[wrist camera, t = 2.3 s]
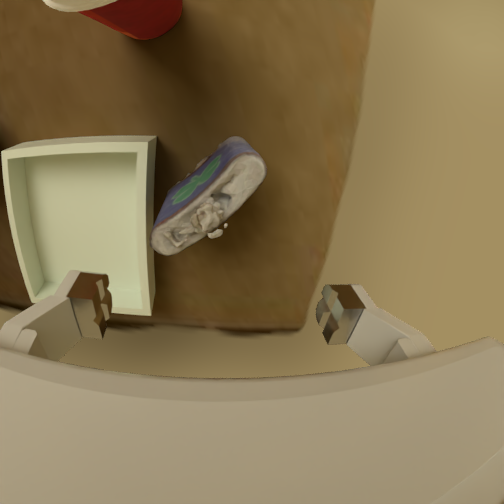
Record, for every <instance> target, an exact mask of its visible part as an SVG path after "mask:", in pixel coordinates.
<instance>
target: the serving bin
mask: <svg viewBox="0 0 504 504" xmlns="http://www.w3.org/2000/svg"><path fill="white" fill-rule="evenodd" d="M156 141H157V136H90V137H72V138H59V139H49V140H39V141H31V142H24V143H21V144H18V145H16V146H13V147H10V148H8V149H5V150H3V151H1V157H2V171H3V182H4V190H5V198H6V205H7V211H8V217H9V222H10V227H11V232H12V237H13V241H14V245H15V249H16V253H17V257H18V261H19V265H20V268H21V271H22V275H23V278H24V281H25V284H26V287H27V290H28V293H29V296H30V299H31V302H32V303H38V302H39V301H41V300H43V299H45V298H46V297H48V296H50V295H53V296H54V294H55V292H56V291H57V289H58V287H59V286H60V284H61V283H62V281H63V279H64V278H65V276H66V275H67V273H68V272H69V271H70V270H79V271H88V272H97V273H106V274H107V275H108V278H109V286H108V288H107V289H108V290H109V291H110V293H111V295H112V312H111V313H121V314H133V315H146V316H151V314H152V308H153V302H154V297H155V272H154V249H153V248H151V247H150V245H149V242H150V241H149V238H150V233H151V231H152V228H153V209H154V174H155V156H156Z"/></svg>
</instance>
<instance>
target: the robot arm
mask: <svg viewBox="0 0 504 504" xmlns="http://www.w3.org/2000/svg"><path fill="white" fill-rule="evenodd" d="M108 286H109V278H108V275H107V274H106V273H97V272H88V271H79V270H70V271H69V272H68V273H67V275H66V276H65V278H64V279H63V281H62V283H61V284H60V286H59V287H58V289H57V291H56V292H55V294H54V296H53V295H50V296H48V297H46V298H45V299H43V300H41V301H39V302H38V303H36V304H34V305H33V306H31V307H29V308H28V309H26V310H24V311H23V312H21V313H19V314H18V315H16V316H15V317H13V318H12V319H10V320H8V321H7V322H5V323H4V325H3V327H2V328H1V330H0V504H504V344H503V343H501V342H499V341H498V340H496V339H494V338H492V337H484V338H481V339H478V340H475V341H472V342H469V343H466V344H462V345H459V346H456V347H452V348H449V349H445V350H442V351H438V352H436V350H435V349H434V347H433V346H432V345H431V343H430V342H429V340H428V339H427V338H426V336H425V335H424V334H423V333H421V332H420V331H418V330H416V329H415V328H413V327H411V326H410V325H408V324H406V323H405V322H403V321H401V320H400V319H398V318H396V317H395V316H393V315H391V314H389V313H388V312H386V311H385V310H383V309H381V308H377V306H376V305H375V304H374V302H373V301H372V299H371V298H370V297H369V295H368V294H367V292H366V291H365V290H364V288H363V287H362V286H361V285H359V284H348V285H325V286H324V288H323V291H322V295H323V298H322V299H321V300H320V301H319V302H318V305H317V308H316V318H317V322H318V324H319V325H320V326H321V327H323V328H324V330H323V335H324V337H325V340H326V342H327V344H328V345H334V344H347V346H349V347H350V348H351V349H352V350H353V351H354V352H355V353H357V354H358V355H359V356H360V357H361V358H362V359H363V360H364V361H366V362H367V363H368V364H369V365H370V366H368V367H362V368H356V369H350V370H343V371H335V372H327V373H318V374H307V375H297V376H282V377H263V378H185V377H167V376H153V375H143V374H133V373H125V372H117V371H109V370H102V369H96V368H90V367H84V366H78V365H73V364H68V363H63V362H58V361H59V360H60V359H61V358H62V357H63V356H64V355H65V354H66V353H67V352H68V351H69V350H70V349H71V348H72V347H73V346H74V345H75V344H76V343H78V341H80V340H81V339H82V337H85V338H94V339H103V337H104V334H105V331H106V328H107V325H106V320H108V319H109V318H110V315H111V312H112V295H111V293H110V291H109V290H108V289H107V288H108Z"/></svg>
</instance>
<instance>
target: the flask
mask: <svg viewBox="0 0 504 504" xmlns="http://www.w3.org/2000/svg"><path fill="white" fill-rule="evenodd" d="M266 175H267V167H266V164H265V162H264V160H263V159H262V157H261V156H260V155H259V154H258V153H257V152H256V151H255V150H254V149H253V148H251V146H250V145H249V144H248V143H247V142H246V141H245V139H243V138H242V137H238V136H232V137H230V138H228V139H227V140H225V141H224V142H222V143H220V145H218V148H217V149H216V150H215V151H214V152H213V153H212V154H210V155H209V156H206V157H205V158H204V159H203V160H201V161H200V162H199V163H198V164H197V167H196V168H195V170H194V171H193V172H192V173H191V174H190V173H188V174H187V176H186V178H185V179H184V180H183V181H180V182H179V181H178V183H177V184H176V185H174V186H173V187H172V188H171V189H170V190H168V193H167V196H166V199H165V201H164V203H163V205H162V207H161V209H160V212H159V215H158V217H157V219H156V222H155V224H154V227H153V228H152V231H151V233H150V238H149V241H150V242H149V245H150V247H151V248H153V249H154V250H155V251H157V252H158V253H159V254H162V255H165V256H171V255H175V254H177V253H179V252H181V251H182V250H184V249H185V248H187V247H189V246H191V245H193V244H194V243H196V242H197V241H199V240H201V239H203V238H204V237H206V236H207V235H208V237H209V238H211V239H212V238H216V237H219V236H221V235H222V234H223V230H220V229H217V228H218V227H219V226H220V225H221V224H222V223H224V222H225V221H226V220H227V219H228V218H229V217H231V216H232V215H233V214H234V213H235V212H236V211H237V210H238V209H239V208H240V207H241V206H242V205H243V204H244V203H245V201H246V200H247V199H248V198H249V197H250V196H251V195H252V194H253V193H254V192H255V191H256V190H257V188H258V187H259V186H260V185H261V184H262V182H263V180H264V178H265V177H266ZM227 226H228V224H227V223H225V224H224V227H225V228H227ZM215 229H217V230H216V231H214V230H215ZM212 231H214V232H213V233H211V232H212Z"/></svg>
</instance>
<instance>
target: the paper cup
mask: <svg viewBox="0 0 504 504" xmlns="http://www.w3.org/2000/svg"><path fill="white" fill-rule="evenodd" d="M43 1H44V2H45V3H46V4H47V5H48V6H50V7H51V8H53V9H56V10H59V11H66V12H76V11H77V12H79V13H81V14H84V15H86V16H88V17H90V18H92V19H94V20H96V21H98V22H100V23H103V24H105V25H107V26H109V27H111V28H113V29H115V30H117V31H119V32H121V33H123V34H125V35H127V36H129V37H132V38H135V39H141V40H146V39H152V38H156V37H159V36H161V35H163V34H165V33H166V32H168V31H169V30H170V29H171V28H173V27H174V25H175V24H176V23H177V21H178V20H179V18H180V15H181V12H182V0H43Z"/></svg>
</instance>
